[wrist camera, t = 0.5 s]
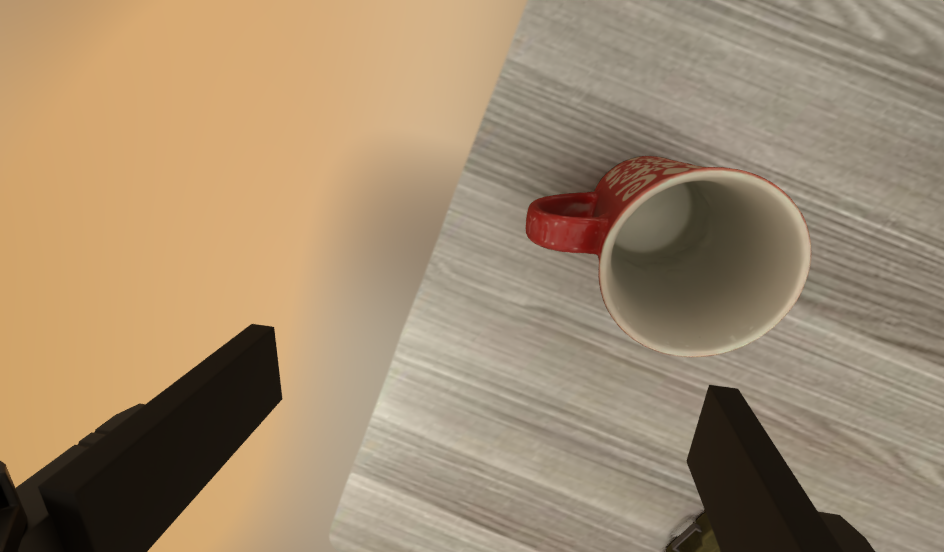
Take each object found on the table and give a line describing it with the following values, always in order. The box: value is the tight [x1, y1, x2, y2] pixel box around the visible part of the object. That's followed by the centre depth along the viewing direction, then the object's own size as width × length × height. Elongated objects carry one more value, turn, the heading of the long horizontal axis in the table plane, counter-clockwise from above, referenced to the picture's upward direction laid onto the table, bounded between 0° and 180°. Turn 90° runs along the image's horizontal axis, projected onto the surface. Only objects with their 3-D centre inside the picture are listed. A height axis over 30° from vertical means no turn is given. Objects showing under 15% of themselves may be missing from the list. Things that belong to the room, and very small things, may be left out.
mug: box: [526, 156, 811, 357], centre depth 27 cm, size 13×9×14 cm
